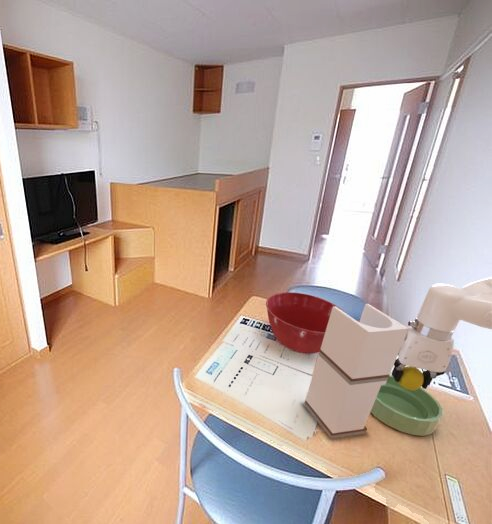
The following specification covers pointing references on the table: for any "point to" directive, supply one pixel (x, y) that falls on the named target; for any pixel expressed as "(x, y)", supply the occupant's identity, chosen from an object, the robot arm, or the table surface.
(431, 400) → the green bowl
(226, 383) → the table surface
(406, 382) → the lemon
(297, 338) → the mixing bowl
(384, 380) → the tall white box
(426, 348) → the robot arm
